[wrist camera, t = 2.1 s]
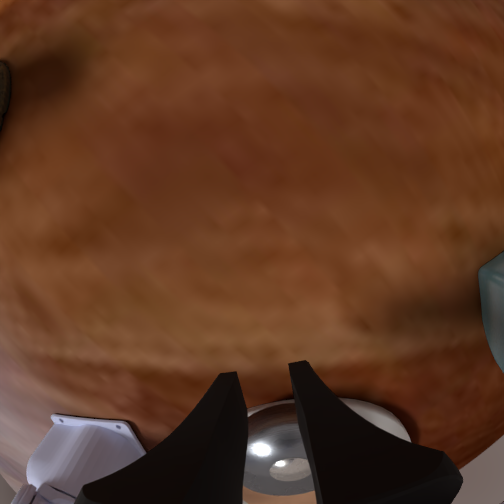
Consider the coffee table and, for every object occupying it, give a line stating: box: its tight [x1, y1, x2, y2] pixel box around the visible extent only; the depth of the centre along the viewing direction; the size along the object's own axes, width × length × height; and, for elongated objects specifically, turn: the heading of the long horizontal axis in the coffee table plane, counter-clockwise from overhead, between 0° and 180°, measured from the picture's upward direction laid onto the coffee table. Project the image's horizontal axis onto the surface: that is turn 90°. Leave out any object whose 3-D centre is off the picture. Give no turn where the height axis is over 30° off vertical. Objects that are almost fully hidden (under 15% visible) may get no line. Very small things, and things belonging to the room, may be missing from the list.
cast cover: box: [243, 403, 315, 496], centre depth 18 cm, size 8×8×3 cm
